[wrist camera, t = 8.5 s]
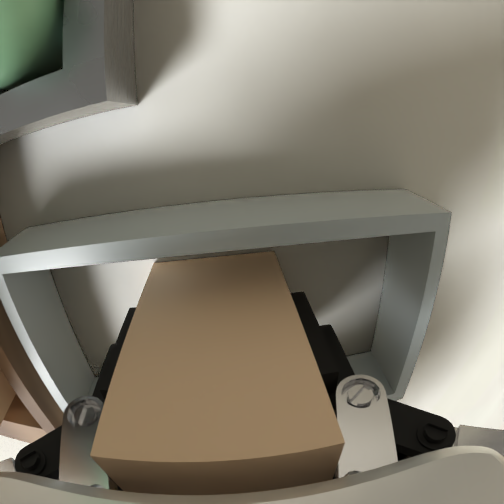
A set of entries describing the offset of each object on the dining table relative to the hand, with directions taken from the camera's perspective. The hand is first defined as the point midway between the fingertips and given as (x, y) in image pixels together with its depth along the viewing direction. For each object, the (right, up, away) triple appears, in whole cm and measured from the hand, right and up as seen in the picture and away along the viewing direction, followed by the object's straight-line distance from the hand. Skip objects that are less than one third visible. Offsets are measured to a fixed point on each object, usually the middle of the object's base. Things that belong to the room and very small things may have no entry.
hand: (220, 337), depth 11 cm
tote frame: (0, +1, +2) cm, 2 cm away
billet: (0, +1, +2) cm, 2 cm away
